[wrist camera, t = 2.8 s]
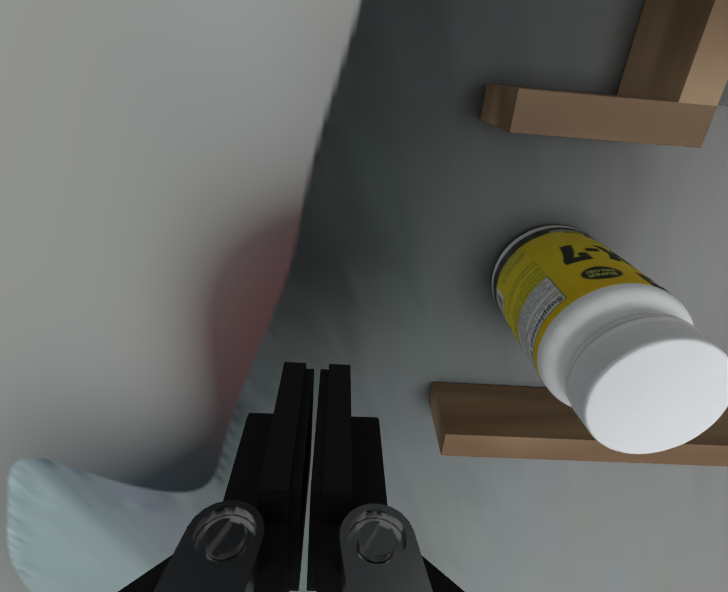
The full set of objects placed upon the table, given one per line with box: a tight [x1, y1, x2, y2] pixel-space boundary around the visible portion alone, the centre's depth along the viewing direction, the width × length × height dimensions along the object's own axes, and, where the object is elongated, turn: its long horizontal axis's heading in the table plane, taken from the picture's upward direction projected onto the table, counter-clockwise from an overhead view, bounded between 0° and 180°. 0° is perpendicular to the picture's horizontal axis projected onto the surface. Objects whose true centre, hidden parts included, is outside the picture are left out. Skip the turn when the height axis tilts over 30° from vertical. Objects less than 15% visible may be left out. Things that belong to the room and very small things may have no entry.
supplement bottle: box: [492, 225, 728, 454], centre depth 16 cm, size 5×5×8 cm
